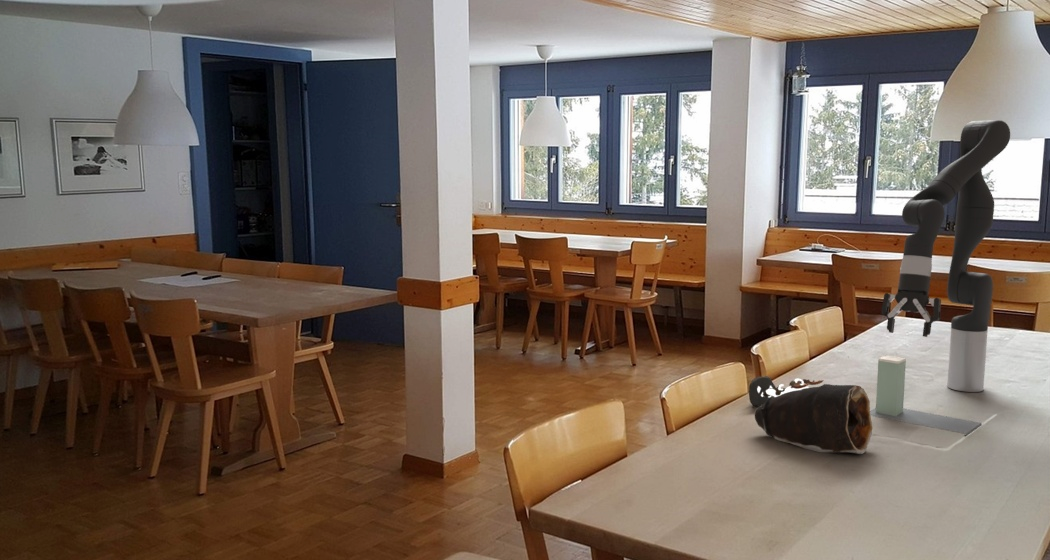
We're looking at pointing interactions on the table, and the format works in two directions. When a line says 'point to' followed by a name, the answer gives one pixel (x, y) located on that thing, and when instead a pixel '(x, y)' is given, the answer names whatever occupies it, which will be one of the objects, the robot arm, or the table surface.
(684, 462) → the table surface
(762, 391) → the figurine
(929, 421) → the slate mat
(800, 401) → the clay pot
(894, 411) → the sage block
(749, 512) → the table surface
